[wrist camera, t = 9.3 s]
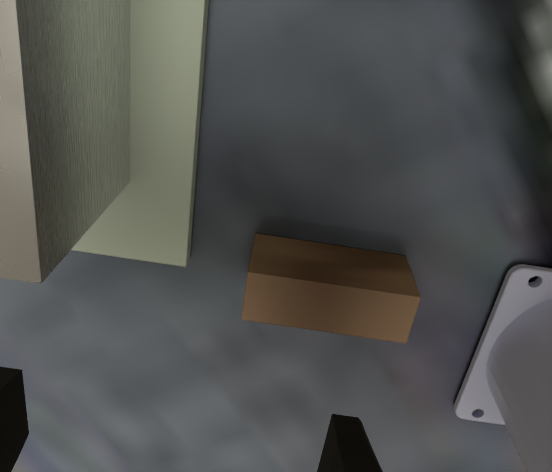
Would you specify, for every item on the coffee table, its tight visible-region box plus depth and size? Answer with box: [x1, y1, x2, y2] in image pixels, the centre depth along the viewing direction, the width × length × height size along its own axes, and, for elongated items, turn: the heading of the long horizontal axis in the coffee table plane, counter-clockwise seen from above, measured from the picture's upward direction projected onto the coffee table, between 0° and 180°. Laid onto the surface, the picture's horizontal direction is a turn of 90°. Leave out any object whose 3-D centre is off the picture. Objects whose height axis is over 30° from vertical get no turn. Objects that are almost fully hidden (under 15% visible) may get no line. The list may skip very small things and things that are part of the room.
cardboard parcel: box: [241, 233, 421, 343], centre depth 16 cm, size 6×17×3 cm, turn 172°
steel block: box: [0, 0, 130, 284], centre depth 13 cm, size 4×10×7 cm, turn 173°
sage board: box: [71, 0, 209, 267], centre depth 17 cm, size 9×16×1 cm, turn 172°
